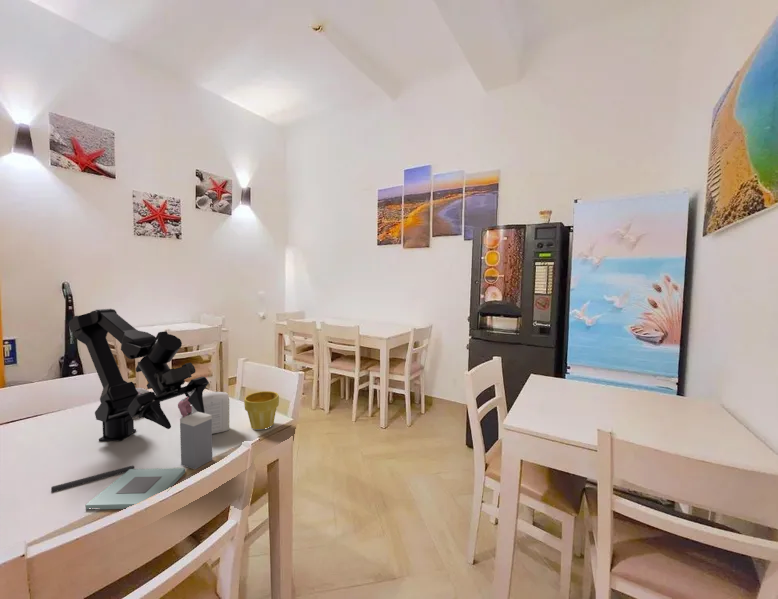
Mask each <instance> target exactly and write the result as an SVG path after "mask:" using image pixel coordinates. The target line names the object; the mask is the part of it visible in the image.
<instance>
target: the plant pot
mask: <svg viewBox="0 0 778 599" xmlns="http://www.w3.org/2000/svg"><path fill="white" fill-rule="evenodd" d="M243 401H244V410H245V411H246V412H247V415H248V420H249V423H250V427H251V429H252V428H253V429H252V430H254V429H265V428H268V427H270V426H272V425H273V426H274V423H275V419H276V418H275V417H276V413H277V412H276V411H277V408H278V407H279V403H280V399H279V393H277V392H275V391H269V390H268V391H267V390H265V391H257V392H253V393H250V394H248V395H246V396H245V397H244V400H243ZM273 426H272V427H273ZM270 428H271V427H270ZM268 429H269V428H268ZM265 430H266V429H265Z"/></svg>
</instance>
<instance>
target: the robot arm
mask: <svg viewBox="0 0 778 599" xmlns="http://www.w3.org/2000/svg"><path fill="white" fill-rule="evenodd" d="M68 328H69V330H70V331H71V332H72V335H73V336H74V337H75V340H78V341H79V342H81V343H82V344H83V345H85V346H86V348H87V351H88V353H89V356H90V358H91V361H92V363H93V365H94V368H95V371H96V373H97V375H98V376H97V377H98V378H99V380H100V383H101V385H102V392H101V393H100V394H101V395H100V397H99V401H100V405H99V406H98V407H97V408H96V410H95V411H94V415H95V416H94V417H95V420H96V421H100V422H102V436H101V437H100V438H98V441H99V442H107V441H109V442H110V441H113V442H117V441H118V442H119V441H121V442H122V441H124V440H125V439H126V438H128V437H130V435H132V434H133V433H135V432H136V431H137V428H135V426H134V425H135V423H134V422H135V421H134V418H135V417H137V418H139V419H142V418H144V419H146V420H148V421H151V422H153V423H156V424H158V425H159V426H161V427H163V428H164V429H167V430H169V429H171V428H172V425H171V423H170V420H169V419H168V417H167V415H166V414H165V412H164V411H163V409H162V408H161V407H162V406H161V403H162V402H164V401H167V400H169V399H174V398H176V397H180V396H182V395H185V398H186V397H189V399H188V401H189V402H190V404H191V405H190V406H193V407H194V408H195V409H196V410H197V412H201V413H205V411H204V405H203V396H202V394H204V393H203V392H204V391H205V390H206V388H207V387H208V385H209V384H210V382H209V380H208V379H207V377H206V376H200V377H196V378H193V379H191V380H190V381H189V382H188V383H187V385H185V383H186V379H190V378H192V375H194V374H195V373H196V371H197V370H196V367H195V366H194V365H193V363H192V362H186V363H184V364H183V365H181V367H177V368H170V366H169V365H168V363H170V362H171V361H172V360H173V359H174V357H175V356H176V354H177V353H178V352H179V350H180V349H181V347H182V346H183V345H182V344H183V343H182V340H181V339H180V338H179V337H177V336H176V335H173V334H169V333H168V331H167V330H165V331H159V332H158V333H157V334H156V335H153V334H151V333H149V332H146V331H143V330H139V329H136V328H135V327H134V326H133V325H131V324H130V323H129V322H128V321H127V320H125V319H124V318H123V317H121V316H120V315H119V314H118V313H117V310H116V309H114V308H113V309H112V308H105V309H104V308H102V309H99V308H98V309H94V310H92V311H90V312H88V313H87V312H86V313H84V314H80V315H74V316H73V318H72V319H70V320H69V322H68ZM108 333H109V334H110V335H111V336H112V337H113V338H114V339H116V340H117V341H118V342H119V344H121V345H120V351H121V352H122V353H123V355H125V357H126V358H128V359H129V360H135V359H140V358H141V359H140V361H137V365H136V368H135V372H136V373H140V372H141V373H142V374H143V377H144V378H145V379H146V381H147V382H148V383H147V384H146V388H147V390H148V389H152V391H149V392H147V393H144V394H140V395H139V394H138V392H137V390H136V388H137V387H136V384H135V383H134V382H133V381H129V382H128V381H126V380H125V379H124V378H123V375H122V373H121V371H120V368H119V366H118V363H117V361H116V359H115V357H114V353H113V352H112V349H111V346H110V343H109V341H108V339H107V336H108ZM183 385H185V386H183Z"/></svg>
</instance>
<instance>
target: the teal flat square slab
mask: <svg viewBox="0 0 778 599" xmlns="http://www.w3.org/2000/svg"><path fill="white" fill-rule="evenodd" d="M185 473H186V467H181V468H178V467H177V468H175V467H174V468H170V467H169V468H167V467H166V468H134V469H129V470H128V471H127V472H124V473H122V475H121V476H120V477H118V478H117V479H116V480H114V481H113V482H112V483H110V485H108V486H107V487H106V488H105V489H103V490H102V491H101V492H100V493H98V494H97V495H95V497H93V499H91V500H90V501H88V502H87V503H86V504H85V510H86V509H89V508H91V509H92V508H100V509H99V510H124V508H127V507H129V506H132V505H134V504H137V503H139V502H141V501H143V500H145V499H147V498H149V497H151V496H153V495H155V494H157V493H160V492H162V491H164V490H166V489H168V488H169V487H171V486H172V487H174V485H175V484H176V483H177V482H178V481H179V480H180V478H182V477H183V476H184V475H185ZM172 487H171V488H172Z"/></svg>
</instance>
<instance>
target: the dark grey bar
mask: <svg viewBox="0 0 778 599" xmlns="http://www.w3.org/2000/svg"><path fill="white" fill-rule="evenodd" d="M129 469H135V466H134V465H128V466H124V467H122V468H121V467H120V468H117V469H113V470H109V471H106V472H103V473H102V472H101V473H98V474H94V475H91V476H87V477H83V478H80V479H77V480H76V479H75V480H73V481H68V482H64V483H61V484H57V485H53V486H51V489H50V490H51V491H50V492H51V493H54V492H58V491H61V489H62V490H65V489H69V488H72V486H73V487H76V486H80V485H84V484H86V483H87V484H88V483H90V482H94V481H98V480H101V479H104V478H106V479H107V478H109V477H112V476H113V477H114V476H117V475H120V474H125V473H126V472H127V471H128V470H129ZM83 483H84V484H83ZM57 490H58V491H57Z"/></svg>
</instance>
